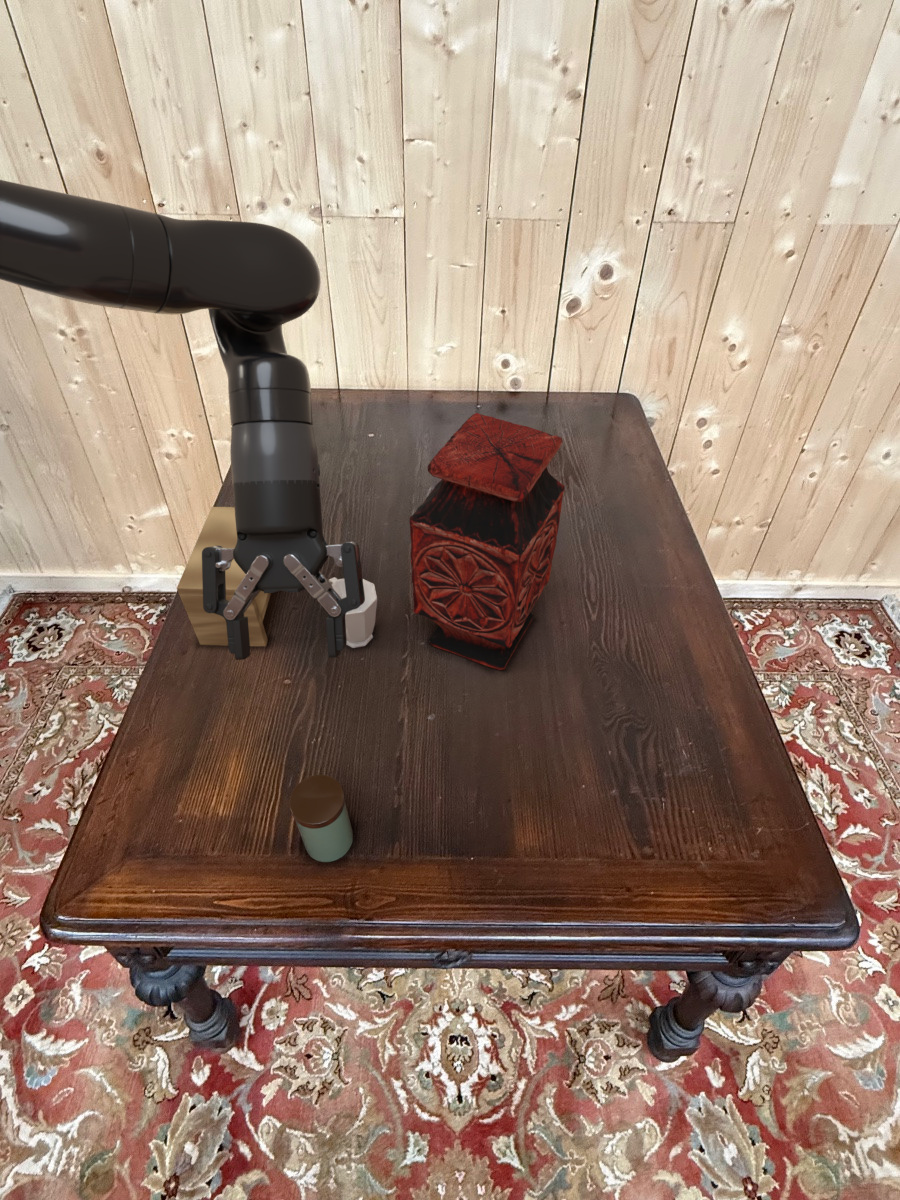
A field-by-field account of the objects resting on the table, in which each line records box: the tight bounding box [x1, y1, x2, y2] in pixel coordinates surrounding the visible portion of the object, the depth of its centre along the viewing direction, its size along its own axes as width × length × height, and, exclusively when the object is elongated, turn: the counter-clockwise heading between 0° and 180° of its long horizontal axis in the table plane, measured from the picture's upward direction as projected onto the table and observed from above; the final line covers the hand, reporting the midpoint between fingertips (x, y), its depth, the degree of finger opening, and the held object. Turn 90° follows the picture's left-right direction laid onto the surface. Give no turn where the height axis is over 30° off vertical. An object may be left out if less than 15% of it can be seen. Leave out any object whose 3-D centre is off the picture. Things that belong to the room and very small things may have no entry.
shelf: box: [176, 506, 272, 647], centre depth 95 cm, size 16×9×11 cm, turn 178°
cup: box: [327, 576, 378, 649], centre depth 92 cm, size 7×10×8 cm
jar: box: [289, 774, 354, 863], centre depth 71 cm, size 5×5×9 cm
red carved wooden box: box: [408, 412, 565, 671], centre depth 84 cm, size 14×14×30 cm
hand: (289, 657), depth 64 cm, fingers open, 8 cm apart
